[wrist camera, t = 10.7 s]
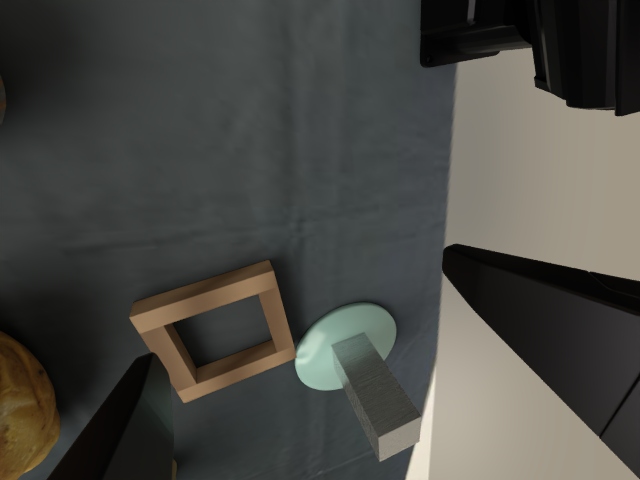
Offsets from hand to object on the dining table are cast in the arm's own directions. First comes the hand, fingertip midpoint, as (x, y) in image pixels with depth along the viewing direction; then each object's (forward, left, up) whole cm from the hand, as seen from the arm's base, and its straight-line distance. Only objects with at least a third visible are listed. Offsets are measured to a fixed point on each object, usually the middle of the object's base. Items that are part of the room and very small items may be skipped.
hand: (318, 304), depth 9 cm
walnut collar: (+5, +11, -13) cm, 18 cm away
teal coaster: (-5, +19, -13) cm, 24 cm away
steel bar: (-5, +19, -12) cm, 23 cm away
